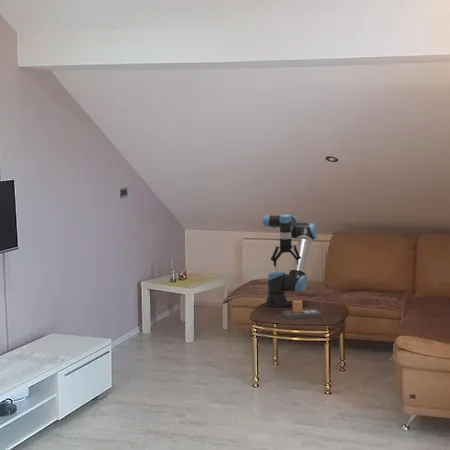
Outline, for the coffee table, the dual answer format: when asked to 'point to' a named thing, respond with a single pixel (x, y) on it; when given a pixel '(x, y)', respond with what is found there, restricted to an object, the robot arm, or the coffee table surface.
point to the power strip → (305, 314)
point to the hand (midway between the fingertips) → (285, 270)
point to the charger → (297, 307)
